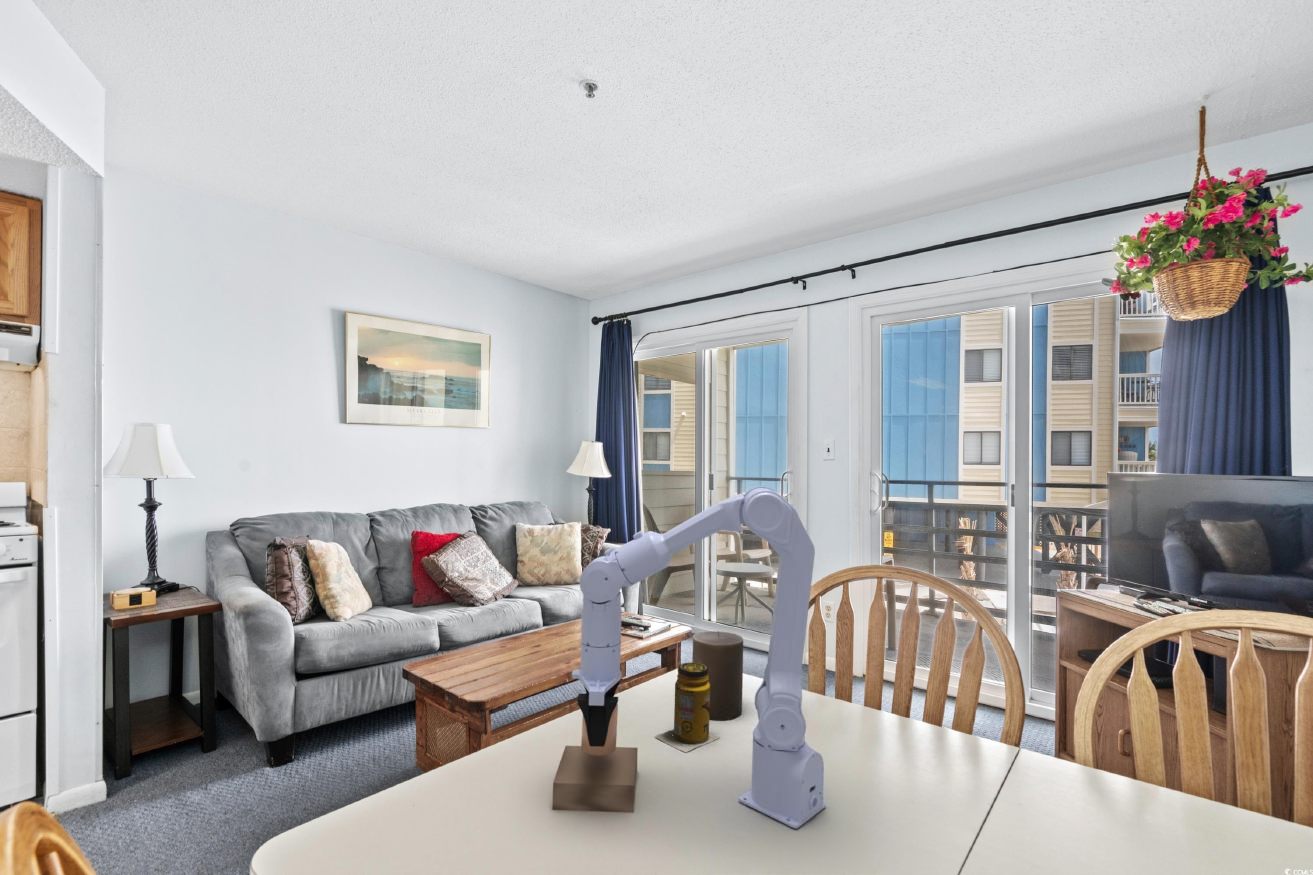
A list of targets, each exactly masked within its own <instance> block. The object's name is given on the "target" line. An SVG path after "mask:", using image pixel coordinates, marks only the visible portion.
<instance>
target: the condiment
mask: <svg viewBox="0 0 1313 875" xmlns="http://www.w3.org/2000/svg"><path fill="white" fill-rule="evenodd" d="M676 676H677V679H676V681H675V684H674V686H675V687H674V712H673V713H674V714H673V729H669V730H667V731H666V732H662V733H659V734H657V735H654V737H655V738H657V739H658V740H660V741H662V742H663V743H666V744H667V745H670V746H671V747H673V748H675V749H677V750H679V751H682V752H684V753H688V752H689V751H693V749H696V748H699V747H701V746H705V745H706V744H707V745H708V743H711V742H713V741H715V740H717V739H719V738H720V736H718V735H716V734H713V733H711V732H710V719H709V710H710V684H709V682H708V668H707V667H706V666H705V665H703V664H700V663H692V662H684V663H680V664H679V665H678V668H677V675H676Z"/></svg>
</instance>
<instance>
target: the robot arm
mask: <svg viewBox="0 0 1313 875" xmlns="http://www.w3.org/2000/svg"><path fill="white" fill-rule="evenodd" d="M743 524H745V526H746V527H747V529H748V530H749V531H750V532H752V533H753V535H756V536H757V537H759V538H761V539H762V540H764V541H766V542H767V543H768V544H769V545H770V547H771V548H772V549H773V550H774V551H775V553H776V554H777V555H778V556H779V558H778V559H779V560H778V566H777V568H778V569H777V576H776V584H775V593H774V602H773V612H772V619H771V627H770V628H771V629H770V635H769V636H770V638H769V645H768V656H767V663H766V666H765V669H764V674H763V679H762V682H761V684H760V686H759V687H758V688H757V690H756V691H755V695H754V705H755V709H756V713H757V717H758V718H757V719H758V723H757V724H756V726H755V728H754V729H753V731H752V755H751V756H752V757H751V760H752V762H751V789H750V790H748V791H746V792H744V793H743V794H741V795H740V796H738V801H739V803H742V804H745V805H746V806H749V808H752V809H753V810H756V811H758V812H760V813H762V814H764V815H765V816H768V817H771V818H772V819H775V820H776V821H779V822H780V823H781V824H785V825H786V826H788V827H791V828H792V829H798V828H800V827H801V826H802V825H803V824H805V823H806V822H807V821H809V820H811V819H812V818H813V817H814V816H816V815H817V814H818V813H819V812H821V811H822V810H823V809H824V808H826V806H827V803H826V802H825V801H824V781H825V780H824V779H825V778H824V775H825V774H824V773H825V772H824V771H825V767H824V766H825V764H824V759H823V756H822V754H821V753H820V752H818V751H817V750H815V749H814V748H812V747H811V746H810V745H809V744H808V743H807V741H806V737H805V735H806V732H807V731H806V730H807V722H806V719H805V716H804V713H803V710H802V700H803V688H802V687H803V686H802V669H803V668H802V667H803V661H804V660H803V659H804V650H805V641H806V635H807V634H806V633H807V627H808V626H807V625H808V618H809V607H810V598H811V589H812V582H813V581H812V580H813V571H814V564H815V555H816V552H815V545H814V543H813V541H812V539H811V537H810V536H809V533H808V532H807V530H806V528H805V526H804V524H803V522H802V520H801V519H800V516H799V513H798V512H797V510H796V508H795V507H794V506H793V505H792V504H791V503H790V502H789V501H787V500H786V499H785V498H784V496H782V495H781V494H779V493H778V492H776V490H774V489H772V488H770V487H766V486H756V487H752V488H750V489H749V490H747V492H745V493H744V494H743V493H739V494H738V493H737V494H736V495H735V494H734V495H733V496H730V497H728V498H725V499H723V500H721V501H719V502H717V503H715V504H713V505H711V506H709V507H708V508H706V509H704V510H703V511H701V512H698V513H697V514H696V515H694V516H692V517H690V518H688V519H687V520H685V521H684V522H682V523H680V524H678V525H676V526H675V527H673V528H671V529H670V530H668V531H666V532H664V533H658V532H655V531H651V530H649V531H647V532H645V533H644V532H643V531H642V530H639V531H638V532H636V533H635V534H633V535H632V538H633V539H632V540H630V541H627V543H624V544H622V545H621V546H619V547H616V548H615V549H613V548H608V549H606V550H605V551H604V555H603V556H599V557H596V558H595V559H593V560H592V561H591V562H589V564H587V566H585V568H584V569H583V570H582V571H581V575H580V576H579V588H580V591H581V593H582V594H583V596H582V611H581V637H580V639H581V640H580V642H581V643H580V669H573V670H572V672H571V678H572V679H575V680H576V679H577V680H579V681H580V682H581V684H582V685H583V687H584V690H585V693H578V695H577V706H578V708H579V709H580V711H581V713H582V717H583V716H584V719H585V724H586V730H587V736H588V741H589V745H590V746H597V747H604V745H605V742H606V738H607V733H608V727H609V722H610V719H611V716H612V713H613V711H614V709H615V707H616V705H617V704H618V702H619V696H615V695H616V692H617V689H618V687H619V686H620V684H621V679H622V671H621V653H622V651H621V650H622V649H621V647H622V646H621V642H622V607H621V602H622V601H621V600H622V599H621V598H622V597H621V596H622V595H621V593H622V592H621V589H622V588H624V587H632V586H634V585H636V584H637V583H640V582H642V581H644V580H646V579H647V578H649V577H651V576H653V575H655V574H656V573H657V574H658V573H659V572H661V571H662V570H664V569H666V568H668V567H669V565H670V563H671V560H672V559H671V558H672V556H673V554H675V553H677V552H679V551H681V550H683V549H685V548H687V547H690V546H692V545H694V544H696V543H698V542H700V541H702V540H704V539H706V538H708V537H710V536H713V535H714V534H717V533H718V532H720V531H725V532H726V531H727V532H736V533H743V528H742V525H743Z"/></svg>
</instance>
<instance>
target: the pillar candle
mask: <svg viewBox="0 0 1313 875" xmlns="http://www.w3.org/2000/svg"><path fill="white" fill-rule="evenodd" d="M691 663H700V664H703V665H705V666H706V667H707V668H708V682H709V684H710V710H709V720H713V721H725V720H733V719H736V718H738V717H740V716H741V715H742V713H743V683H744V682H743V679H744V678H743V677H744V676H743V675H744V674H743V673H744V638H743V636H741V635H740V634H736V633H733V632H729V631H719V630H717V631H716V630H715V631H712V630H711V631H703V632H698V633H694V634H693V635H692V661H691Z"/></svg>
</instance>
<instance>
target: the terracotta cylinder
mask: <svg viewBox="0 0 1313 875" xmlns="http://www.w3.org/2000/svg"><path fill="white" fill-rule="evenodd" d="M618 712H619V704H618V703H617V705H616V707H615V709H614V711H613V713H612V716H611V719H610V722H609V727H608V733H607V738H606V742H605V745H604V747H597V746H590V745H589V741H588V736H587V730H586V724H585V719H584V716H583V715H582V722H581V723H582V725H581V727H582V728H581V744H580V746H581V749H582V750H583V751H584V752H585V753H587V754H590V755H596V756H602V755H607V754H610V753H612V752H614V751H615V749H616V747H617V734H618V733H617V732H618V715H619V714H618Z"/></svg>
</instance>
